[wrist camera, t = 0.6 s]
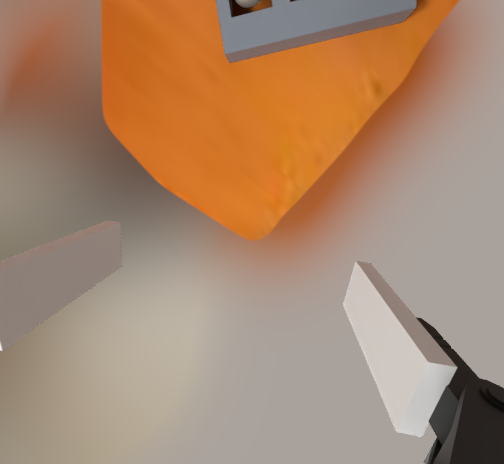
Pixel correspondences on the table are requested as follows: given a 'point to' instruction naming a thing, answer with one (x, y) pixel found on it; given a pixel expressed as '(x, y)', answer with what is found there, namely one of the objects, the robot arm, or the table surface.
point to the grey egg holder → (303, 23)
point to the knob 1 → (247, 3)
